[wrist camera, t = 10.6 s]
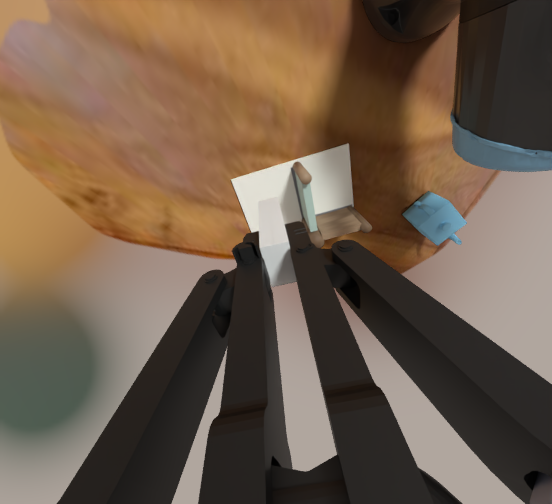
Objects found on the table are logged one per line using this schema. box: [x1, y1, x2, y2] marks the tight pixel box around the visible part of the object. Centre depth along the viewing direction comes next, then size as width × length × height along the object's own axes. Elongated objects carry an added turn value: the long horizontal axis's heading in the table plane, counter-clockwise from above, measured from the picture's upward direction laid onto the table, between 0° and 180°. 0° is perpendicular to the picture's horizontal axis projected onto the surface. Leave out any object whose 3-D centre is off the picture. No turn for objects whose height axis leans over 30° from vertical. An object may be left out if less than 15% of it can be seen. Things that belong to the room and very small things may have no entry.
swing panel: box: [293, 162, 318, 232], centre depth 37 cm, size 10×2×8 cm, turn 14°
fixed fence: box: [301, 206, 372, 248], centre depth 40 cm, size 11×2×9 cm, turn 106°
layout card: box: [231, 144, 354, 232], centre depth 42 cm, size 21×15×1 cm
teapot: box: [402, 191, 467, 246], centre depth 43 cm, size 12×6×8 cm, turn 52°
